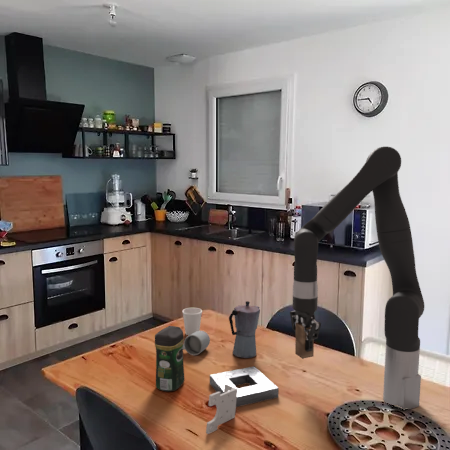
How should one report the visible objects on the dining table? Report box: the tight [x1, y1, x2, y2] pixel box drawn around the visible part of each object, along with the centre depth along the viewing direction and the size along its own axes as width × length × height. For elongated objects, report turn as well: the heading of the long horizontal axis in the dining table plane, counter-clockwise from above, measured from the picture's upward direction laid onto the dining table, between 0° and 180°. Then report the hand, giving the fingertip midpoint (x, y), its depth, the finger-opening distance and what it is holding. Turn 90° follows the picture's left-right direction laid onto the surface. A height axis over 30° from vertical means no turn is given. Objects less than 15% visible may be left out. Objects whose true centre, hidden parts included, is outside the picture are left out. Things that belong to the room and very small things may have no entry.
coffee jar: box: [154, 325, 185, 392], centre depth 140 cm, size 10×8×19 cm
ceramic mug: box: [183, 330, 211, 356], centre depth 168 cm, size 11×8×8 cm
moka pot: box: [228, 301, 261, 359], centre depth 164 cm, size 10×15×20 cm, turn 137°
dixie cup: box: [181, 307, 203, 336], centre depth 185 cm, size 8×8×10 cm
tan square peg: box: [294, 322, 315, 360], centre depth 138 cm, size 4×4×10 cm
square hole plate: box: [209, 366, 280, 408], centre depth 138 cm, size 16×16×3 cm
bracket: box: [205, 384, 237, 435], centre depth 121 cm, size 11×4×10 cm, turn 141°
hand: (304, 347), depth 138 cm, fingers closed on tan square peg, 4 cm apart
